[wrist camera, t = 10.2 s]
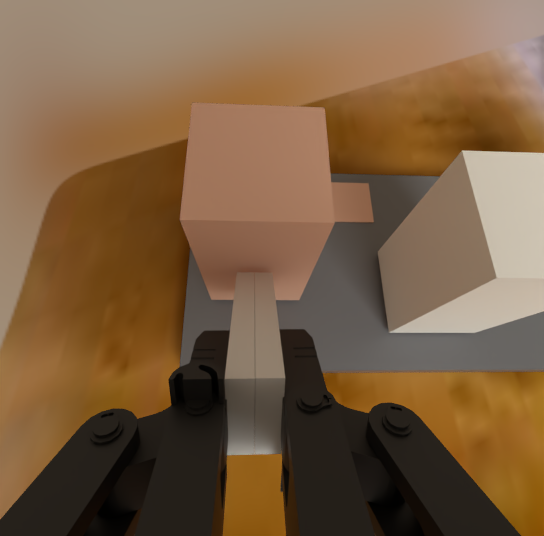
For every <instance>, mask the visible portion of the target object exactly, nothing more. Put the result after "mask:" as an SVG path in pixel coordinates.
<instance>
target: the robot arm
mask: <svg viewBox="0 0 544 536" xmlns="http://www.w3.org/2000/svg"><path fill="white" fill-rule="evenodd" d="M169 387H170V396H171V404H172V405H171V406H170V407H169V408H167V409H165V410H163V411H162V412H159V413H156V414H153V415H150V416H146V417H143V418H139V419H137V418H136V416H135V415H134V414H133V413H132V412H131V411H128V410H126V409H110V410H106V411H103V412H100V413H98V414H97V415H95V416H93V417H91V418H90V419H89V420H87V421H86V422H85V423H84V424H83V425H82V426H81V427H80V428H79V429H78V430H77V432H76V433H75V434H74V435H73V436H72V437H71V438H70V440H69V441H68V442H67V443H66V444H65V445H64V447H63V448H62V449H61V450H60V451H59V452H58V454H57V455H56V456H55V457H54V458H53V459H52V460H51V462H50V463H49V464H48V465H47V466H46V467H45V469H44V470H43V471H42V472H41V473H40V474H39V475H38V477H37V478H36V479H35V480H34V481H33V482H32V484H31V485H30V486H29V487H28V488H27V489H26V491H25V492H24V493H23V494H22V495H21V496H20V497H19V499H18V500H17V501H16V502H15V503H14V504H13V506H12V507H11V508H10V509H9V510H8V511H7V512H6V514H5V515H4V516H3V517H2V518H1V519H0V536H222V535H223V521H224V507H225V493H226V480H227V464H226V460H227V455H249V454H254V447H255V454H281V448H282V475H281V492H282V491H283V498H284V511H285V524H286V536H375V535H376V536H521V535H520V534H519V533H518V532H517V531H516V529H515V528H514V527H513V526H512V525H511V524H510V522H509V521H508V520H507V519H506V518H505V517H504V515H503V514H502V513H501V512H500V511H499V510H498V508H497V507H496V506H495V505H494V504H493V503H492V501H491V500H490V499H489V498H488V497H487V496H486V494H485V493H484V492H483V491H482V490H481V489H480V487H479V486H478V485H477V484H476V483H475V482H474V480H473V479H472V478H471V477H470V476H469V475H468V473H467V472H466V471H465V470H464V469H463V468H462V466H461V465H460V464H459V463H458V462H457V461H456V459H455V458H454V457H453V456H452V455H451V454H450V452H449V451H448V450H447V449H446V448H445V447H444V446H443V444H442V443H441V442H440V441H439V440H438V439H437V437H436V436H435V435H434V434H433V433H432V432H431V430H430V429H429V428H428V427H427V426H426V425H425V423H424V422H423V421H422V420H421V419H420V418H419V417H418V416H417V415H416V414H415V413H414V412H413V411H411V410H410V409H408V408H406V407H404V406H402V405H398V404H394V403H381V404H378V405H376V406H374V407H373V408H372V410H371V411H370V412H369V413H365V412H360V411H356V410H353V409H350V408H347V407H344V406H343V405H341V404H339V403H338V402H336V401H335V399H334V397H333V395H332V394H331V393H329V392H328V391H327V389H326V385H325V381H324V378H323V374H322V370H321V367H320V363H319V360H318V358H317V352H316V349H315V345H314V341H313V338H312V337H311V335H310V334H309V333H308V332H307V331H306V330H305V329H279V323H278V315H277V306H276V298H275V290H274V282H273V274H272V272H255V281H254V272H237V275H236V284H235V292H234V301H233V310H232V318H231V327H230V330H208V331H203V332H202V333H201V334H200V335H199V336H198V337H197V338H196V340H195V344H194V348H193V351H192V355H191V360H190V363H188V364H186V365H183V366H181V367H179V368H178V369H177V370H175V371H174V372H173V373H172V375H171V376H170V378H169ZM134 534H135V535H134Z"/></svg>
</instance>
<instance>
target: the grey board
mask: <svg viewBox="0 0 544 536" xmlns="http://www.w3.org/2000/svg"><path fill="white" fill-rule="evenodd" d="M330 174H331V173H330ZM439 178H440V176H405V175H368V174H331V185H332V196H333V207H334V219H335V224H334V226H333V228H332V230H331V232H330V234H329V237H328V239H327V241H326V243H325V245H324V247H323V250H322V252H321V254H320V256H319V258H318V260H317V263H316V265H315V267H314V269H313V271H312V273H311V276H310V278H309V280H308V282H307V284H306V286H305V289H304V291H303V293H302V295H301V297H300V299H299V300H276V306H277V315H278V323H279V329H305V330H306V331H307V332H308V333H309V334H310V335H311V337H312V338H313V341H314V345H315V349H316V352H317V358H318V360H319V363H320V367H321V370H322V373H380V372H544V311H543V312H540V313H537V314H534V315H530V316H527V317H524V318H521V319H517V320H514V321H511V322H508V323H505V324H501V325H498V326H495V327H492V328H489V329H485V330H482V331H479V332H476V333H389V330H388V323H387V316H386V308H385V301H384V294H383V287H382V279H381V272H380V265H379V258H378V251H379V250H380V248H381V247H382V246H383V245H384V244H385V242H386V241H387V240H388V239H389V238H390V236H391V235H392V234H393V233H394V232H395V230H396V229H397V228H398V227H399V226H400V224H401V223H402V222H403V221H404V220H405V218H406V217H407V216H408V215H409V214H410V212H411V211H412V210H413V209H414V208H415V206H416V205H417V204H418V203H419V202H420V200H421V199H422V198H423V197H424V196H425V194H426V193H427V192H428V191H429V190H430V188H431V187H432V186H433V185H434V184H435V182H436V181H437V180H438V179H439ZM233 301H234V300H211V298H210V295H209V292H208V290H207V287H206V285H205V282H204V280H203V277H202V275H201V272H200V270H199V267H198V265H197V262H196V260H195V257H194V255H193V252H192V250H191V247H190V256H189V268H188V279H187V290H186V301H185V313H184V324H183V335H182V346H181V358H180V367H181V366H183V365H186V364H188V363H190V360H191V355H192V351H193V348H194V344H195V340H196V338H197V337H198V336H199V335H200V334H201V333H202V332H203V331H208V330H230V327H231V318H232V310H233Z"/></svg>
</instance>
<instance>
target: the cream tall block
mask: <svg viewBox="0 0 544 536" xmlns="http://www.w3.org/2000/svg"><path fill="white" fill-rule="evenodd" d="M378 258H379V265H380V272H381V279H382V287H383V294H384V301H385V308H386V316H387V323H388V330H389V333H476V332H479V331H482V330H485V329H489V328H492V327H495V326H498V325H501V324H505V323H508V322H511V321H514V320H517V319H521V318H524V317H527V316H530V315H534V314H537V313H540V312H543V311H544V153H524V152H493V151H461V152H460V154H459V155H458V156H457V157H456V158H455V160H454V161H453V162H452V163H451V164H450V166H449V167H448V168H447V169H446V170H445V172H444V173H443V174H442V175H441V176H440V178H439V179H438V180H437V181H436V182H435V184H434V185H433V186H432V187H431V188H430V190H429V191H428V192H427V193H426V194H425V196H424V197H423V198H422V199H421V200H420V202H419V203H418V204H417V205H416V206H415V208H414V209H413V210H412V211H411V212H410V214H409V215H408V216H407V217H406V218H405V220H404V221H403V222H402V223H401V224H400V226H399V227H398V228H397V229H396V230H395V232H394V233H393V234H392V235H391V236H390V238H389V239H388V240H387V241H386V242H385V244H384V245H383V246H382V247H381V248H380V250H379V251H378Z"/></svg>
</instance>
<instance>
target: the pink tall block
mask: <svg viewBox="0 0 544 536" xmlns="http://www.w3.org/2000/svg"><path fill="white" fill-rule="evenodd" d="M180 222H181V224H182V227H183V229H184V232H185V235H186V237H187V240H188V242H189V245H190V247H191V250H192V252H193V255H194V257H195V260H196V262H197V265H198V267H199V270H200V272H201V275H202V277H203V280H204V282H205V285H206V287H207V290H208V292H209V295H210V298H211V300H234V292H235V284H236V275H237V272H254V281H255V272H272V274H273V282H274V290H275V298H276V300H299V299H300V297H301V295H302V293H303V291H304V289H305V286H306V284H307V282H308V280H309V278H310V276H311V273H312V271H313V269H314V267H315V265H316V263H317V260H318V258H319V256H320V254H321V252H322V250H323V247H324V245H325V243H326V241H327V239H328V237H329V234H330V232H331V230H332V228H333V226H334V224H335V219H334V207H333V196H332V185H331V174H330V163H329V151H328V140H327V129H326V118H325V108H323V107H297V106H269V105H244V104H218V103H216V104H215V103H192V108H191V117H190V127H189V136H188V146H187V155H186V165H185V174H184V184H183V193H182V203H181V212H180Z"/></svg>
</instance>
